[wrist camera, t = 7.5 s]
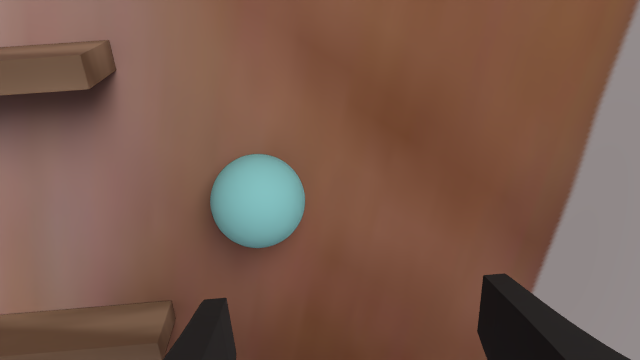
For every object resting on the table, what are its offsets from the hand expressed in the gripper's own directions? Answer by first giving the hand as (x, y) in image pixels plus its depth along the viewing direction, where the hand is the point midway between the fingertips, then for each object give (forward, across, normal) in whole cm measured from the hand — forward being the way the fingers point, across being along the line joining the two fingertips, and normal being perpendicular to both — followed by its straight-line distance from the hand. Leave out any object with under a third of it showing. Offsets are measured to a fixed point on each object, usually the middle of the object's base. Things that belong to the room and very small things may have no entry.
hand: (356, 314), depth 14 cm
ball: (+10, +4, 0) cm, 11 cm away
